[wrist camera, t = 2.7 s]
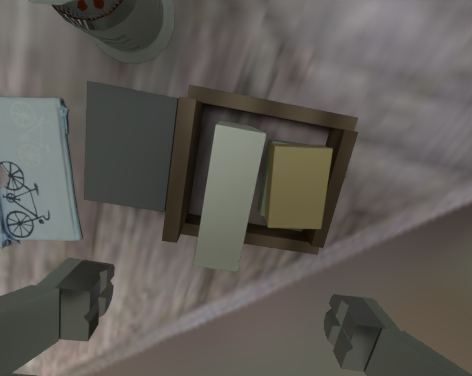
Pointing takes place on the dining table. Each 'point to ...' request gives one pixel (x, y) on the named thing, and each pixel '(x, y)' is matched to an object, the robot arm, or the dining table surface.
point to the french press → (122, 25)
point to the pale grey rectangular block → (228, 195)
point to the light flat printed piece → (36, 172)
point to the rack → (192, 112)
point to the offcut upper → (297, 185)
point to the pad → (128, 146)
